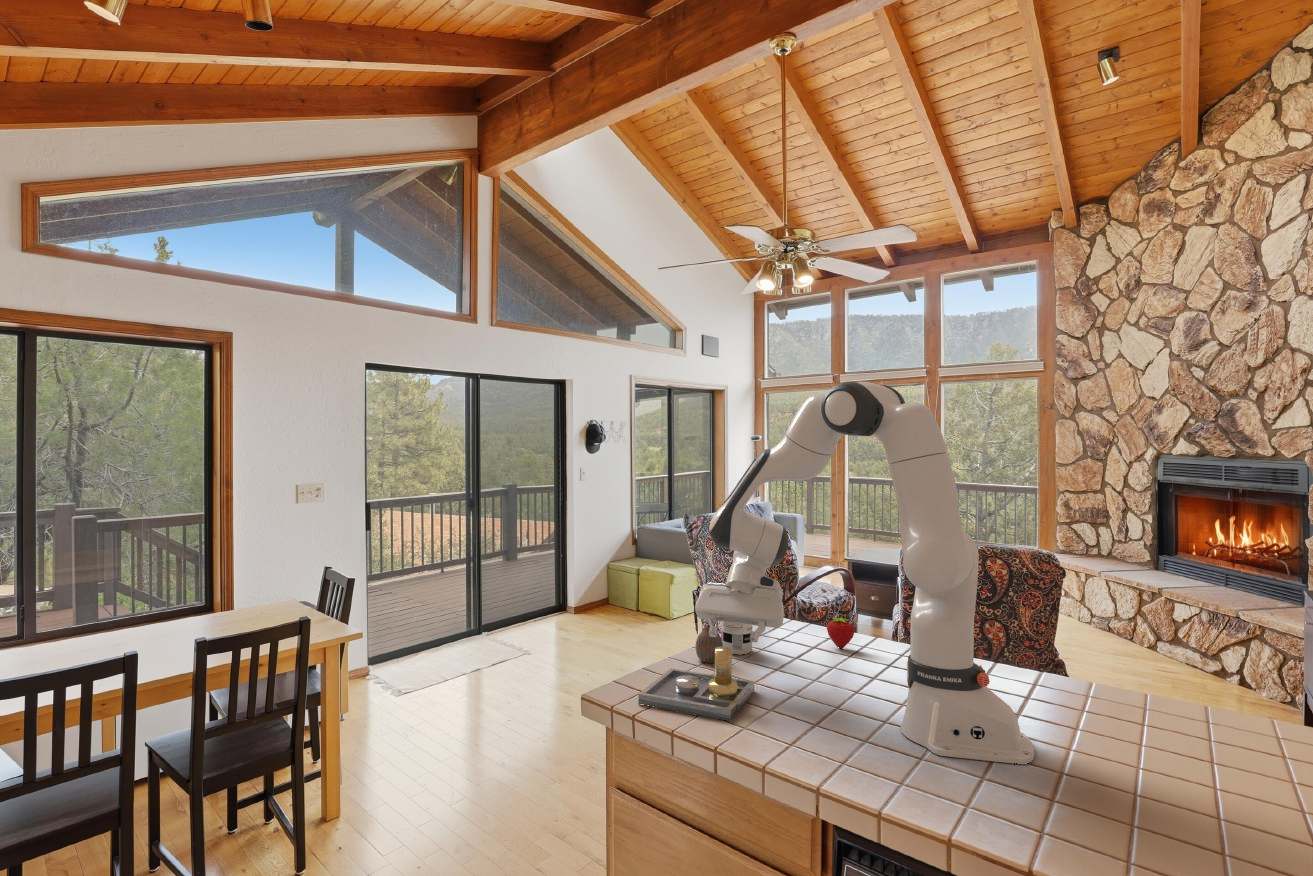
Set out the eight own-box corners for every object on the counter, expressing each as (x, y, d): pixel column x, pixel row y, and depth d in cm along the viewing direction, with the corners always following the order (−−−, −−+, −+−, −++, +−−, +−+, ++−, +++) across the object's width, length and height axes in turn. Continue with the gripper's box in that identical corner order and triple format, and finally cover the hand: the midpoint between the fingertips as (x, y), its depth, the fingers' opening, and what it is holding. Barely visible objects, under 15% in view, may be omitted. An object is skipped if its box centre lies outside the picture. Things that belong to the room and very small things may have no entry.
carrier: (756, 691, 146) (756, 675, 147) (732, 722, 130) (732, 703, 130) (670, 677, 155) (670, 662, 155) (638, 704, 138) (638, 687, 138)
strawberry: (849, 654, 174) (850, 616, 175) (822, 649, 179) (823, 612, 179) (857, 649, 179) (858, 612, 179) (831, 644, 184) (831, 608, 184)
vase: (722, 657, 171) (723, 623, 171) (722, 665, 164) (723, 630, 164) (695, 655, 171) (696, 621, 172) (694, 664, 165) (695, 629, 165)
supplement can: (716, 647, 179) (717, 592, 179) (744, 645, 181) (744, 590, 182) (728, 656, 171) (729, 598, 171) (757, 654, 174) (758, 597, 174)
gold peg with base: (740, 694, 142) (741, 647, 142) (732, 703, 136) (733, 654, 136) (713, 689, 144) (714, 643, 144) (704, 699, 139) (705, 651, 139)
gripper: (700, 574, 158) (685, 625, 149) (785, 581, 150) (775, 636, 141) (705, 589, 162) (691, 639, 153) (789, 597, 154) (779, 651, 145)
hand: (732, 638), depth 147 cm, fingers open, 8 cm apart
